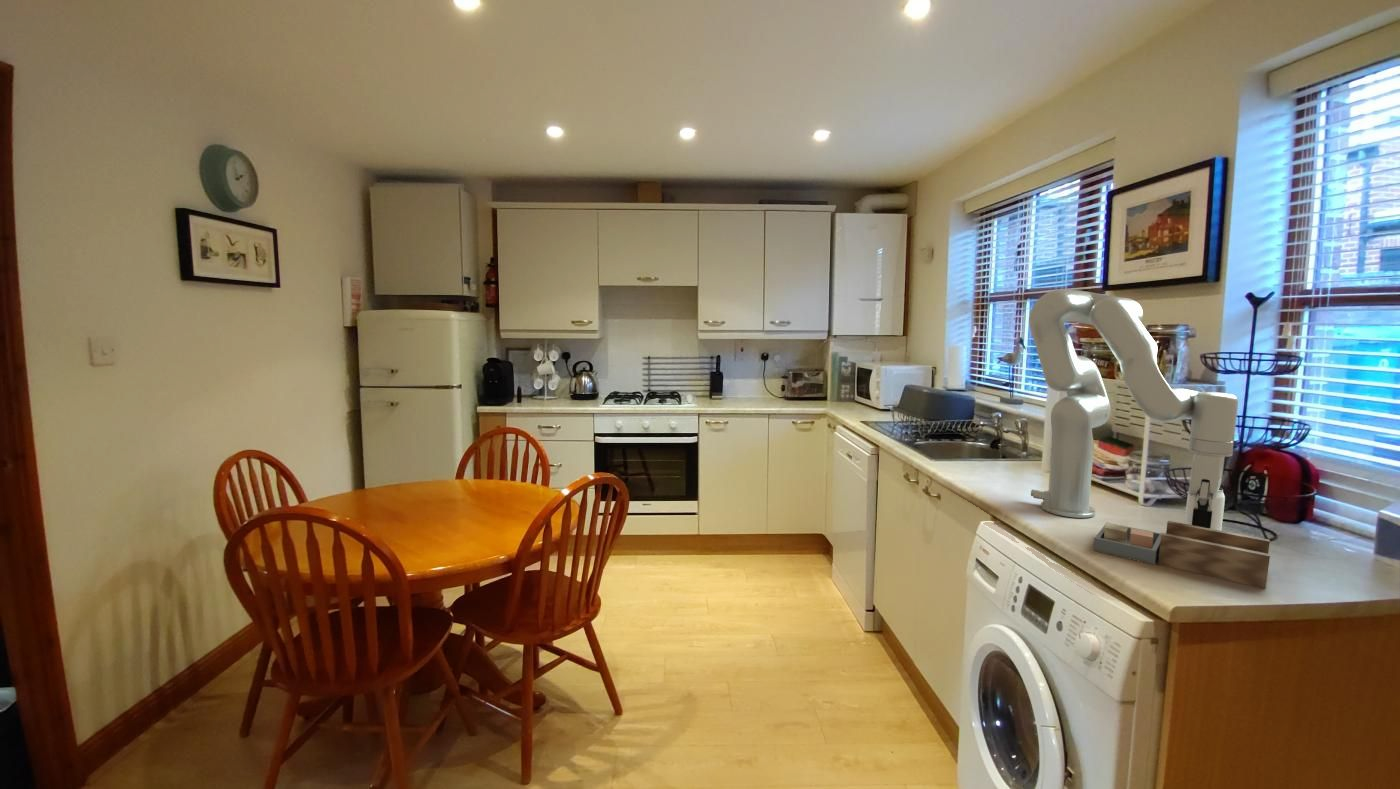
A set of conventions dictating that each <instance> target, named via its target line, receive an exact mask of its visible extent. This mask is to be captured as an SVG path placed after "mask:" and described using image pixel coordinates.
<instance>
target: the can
mask: <svg viewBox="0 0 1400 789" xmlns="http://www.w3.org/2000/svg"><path fill="white" fill-rule="evenodd" d="M1209 486H1210V485H1209ZM1199 490H1200V489H1199ZM1188 493H1189V490H1188V491H1187V497H1186V498H1187V499H1186V506H1185V517H1184V524H1188V525H1192V518H1193V509H1194V508H1195V502H1196V495H1197V493H1196V494H1195V495H1193V494H1192V496H1190V495H1189V494H1188ZM1210 495H1211V493H1210ZM1210 495H1207V497H1210ZM1199 496H1200V494H1199ZM1212 499H1213V497H1212ZM1207 501H1208V502H1209V500H1207ZM1225 501H1226V496H1225V494H1224V488H1222V487H1220V488H1219V491H1218V494H1217V497H1216V498H1215V499H1213V500H1212V505H1211V511H1212V518H1211V527H1210V528H1209V529H1215V530H1220V531H1222V528H1223V520H1224V510H1225Z"/></svg>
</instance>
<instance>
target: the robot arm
mask: <svg viewBox="0 0 1400 789" xmlns="http://www.w3.org/2000/svg"><path fill="white" fill-rule="evenodd" d="M1143 313H1144V312H1143V308H1142V306H1141V305H1140V303H1138V302H1137V301H1136V300H1134V299H1131V298H1128V297H1121V296H1115V295H1114V296H1113V295H1108V294H1103V293H1098V292H1097V293H1096V292H1092V291H1084V290H1078V289H1077V290H1074V289H1063V288H1062V289H1061V288H1060V289H1054V290H1051V291H1049V292H1046V293H1045V294H1043V295H1042V296H1040V297H1039V298H1038V299H1037V300H1036V301H1035V303H1034V304H1033V306H1032V308H1031V310H1030V312H1029V319H1028V323H1029V329H1030V333H1031V337H1032V339H1033V343H1034V345H1035V348H1036V352H1037V356H1038V359H1039V363H1040V366H1041V369H1042V373H1043V376H1044V380H1045V382H1046V384H1047V386H1048V387H1049V388H1050V389H1052V390H1054V391H1056V392H1063V393H1064V392H1066V396H1065V397H1063V398H1061V399H1059V400H1058V401H1057V402H1056V403H1055V404H1054V405H1053V406H1052V408H1051V412H1050V424H1051V425H1050V426H1051V454H1050V455H1051V456H1050V464H1049V468H1050V469H1049V480H1048V490H1044V491H1040V490H1037V489H1031V492H1030V496H1031V497H1033V498H1034V499H1038V500H1042V502H1041V503H1040V507H1041V509H1042V510H1043V511H1045V512H1047V513H1050V514H1053V515H1057V516H1061V517H1062V516H1063V517H1065V518H1066V517H1068V518H1077V519H1085V518H1093V517H1094V516H1096V512H1097V511H1096V509H1094V508H1093V507H1092V506H1090V496H1091V488H1092V487H1091V485H1092V477H1093V476H1092V474H1093V464H1094V462H1093V460H1094V449H1095V448H1094V447H1095V446H1094V436H1093V429H1095V428H1099V427H1101V426H1102V425H1104V424H1106V423H1107V421H1109V419H1110V416H1111V412H1112V411H1111V409H1112V408H1111V403H1110V400H1109V396H1108V393H1107V389H1106V387H1105V383H1104V381H1103V378H1102V375H1101V372H1100V370H1099V368H1098V366H1097V364H1096V363H1095V362H1094V361H1093V360H1092V359H1090V358H1089V357H1086V356H1083V355H1077V352H1076V349H1075V347H1074V343H1073V340H1072V337H1071V335H1070V334H1069V331H1067V329H1066V327H1065V322H1070V323H1071V322H1074V323H1081V324H1088V325H1091V326H1094V328H1095V330H1096V331H1097V332H1098V334H1099V335H1100V337H1101V338H1102V339H1103V341H1104V342H1105V343H1106V345H1107V346H1108V348H1109V350H1110V351H1111V353H1112V355H1114V358H1116V361H1117V362H1118V364H1119V368H1120V372H1121V374H1122V378H1123V380H1124V383H1125V386H1126V388H1127V390H1128V391H1129V393H1130V395H1131V396H1132V398H1133V399H1134V401H1135V402H1136V403H1137V405H1138V407H1139V408H1140V409H1141V411H1142V412H1143V414H1145V415H1146V416H1147V417H1148V418H1149V419H1151V420H1153V421H1154V422H1156V423H1157V422H1158V423H1163V424H1164V423H1165V424H1166V423H1173V422H1175V421H1181V420H1191V424H1190V434H1189V443H1188V452H1189V453H1192V454H1193V458H1192V463H1191V469H1190V470H1191V471H1190V479H1189V487H1188V491H1189V493H1188V492H1187V495H1188V494H1189V495H1190V496H1192V494H1193V495H1195V494H1196V493H1197V495H1196V502H1195V508H1194V509H1193V518H1192V525H1193V526H1199V527H1204V528H1210V527H1211V518H1212V511H1211V505H1212V500H1213V499H1215V498H1216V497H1217V494H1218V491H1219V488H1221V483H1222V479H1223V473H1224V464H1225V458H1227V457H1232V456H1233V450H1234V443H1235V442H1234V441H1235V434H1236V425H1237V418H1238V417H1237V415H1238V409H1239V408H1238V407H1239V399H1238V397H1237V396H1236V395H1234V394H1233V393H1227V392H1216V391H1197V390H1191V389H1186V388H1182V387H1181V388H1179V387H1175V388H1171V386H1170V385H1169V383H1168V382H1167V380H1166V379H1165V378H1164V376H1163V374H1162V372H1161V371H1160V369H1159V366H1158V362H1157V355H1158V352H1159V350H1158V348H1159V347H1158V344H1157V342H1156V340H1154V338H1153V337H1152V335H1151V334H1150V332H1148V331H1147V329H1146V327H1145V326H1144V325H1143V323H1142V321H1143V320H1142V319H1143V316H1144V314H1143ZM1209 485H1210V486H1209ZM1199 489H1200V490H1199ZM1210 493H1211V495H1210ZM1199 494H1200V496H1199ZM1207 495H1210V497H1207ZM1212 497H1213V499H1212ZM1207 500H1209V502H1208V501H1207Z"/></svg>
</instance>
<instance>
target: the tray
mask: <svg viewBox="0 0 1400 789" xmlns="http://www.w3.org/2000/svg"><path fill="white" fill-rule="evenodd" d="M1107 523H1109V524H1112V523H1110V522H1106V523H1105V524H1104V525H1103V527H1102V528H1100V531H1099V532H1097V534H1096V535H1095V537H1094V540H1093V550H1095V551H1094V552H1097V551H1100V552H1099V553H1101V552H1104V553H1103V554H1105V553H1108V554H1107V555H1110V554H1112V555H1111V556H1114V555H1116V556H1115V557H1118V556H1121V557H1120V558H1123V557H1125V558H1124V559H1127V558H1130V559H1129V560H1132V559H1135V560H1134V561H1136V560H1139V561H1138V562H1140V561H1142V563H1145V562H1147V563H1146V564H1149V563H1151V564H1150V565H1153V564H1155V565H1156V562H1157V561H1158V560H1159V552H1160V542H1161V534H1162V533H1163V532H1156V531H1152V530H1151V531H1150V530H1148V531H1149V532H1153V545H1152V549H1149V548H1144V547H1139V546H1135V545H1130V534H1131V528H1132V529H1138V530H1143V531H1147V530H1146V529H1140V528H1136V527H1130V526H1126V525H1124V526H1125V527H1128V531H1127V542H1126V544H1125V543H1121V542H1116V541H1111V540H1107V539H1104V531H1105V526H1106V524H1107ZM1113 524H1114V525H1117V524H1116V523H1113ZM1120 526H1122V525H1120Z"/></svg>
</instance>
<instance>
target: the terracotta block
mask: <svg viewBox="0 0 1400 789" xmlns="http://www.w3.org/2000/svg"><path fill="white" fill-rule="evenodd" d="M1132 528H1133V527H1131V534H1130V545H1135V546H1139V547H1144V548H1149V549H1152V545H1153V532H1154V531H1152V532H1149V531H1150V530H1146V531H1143V530H1144V529H1141V530H1138V529H1139V528H1136V529H1132Z"/></svg>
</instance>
